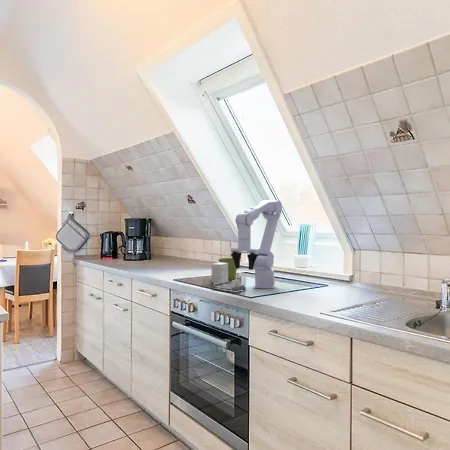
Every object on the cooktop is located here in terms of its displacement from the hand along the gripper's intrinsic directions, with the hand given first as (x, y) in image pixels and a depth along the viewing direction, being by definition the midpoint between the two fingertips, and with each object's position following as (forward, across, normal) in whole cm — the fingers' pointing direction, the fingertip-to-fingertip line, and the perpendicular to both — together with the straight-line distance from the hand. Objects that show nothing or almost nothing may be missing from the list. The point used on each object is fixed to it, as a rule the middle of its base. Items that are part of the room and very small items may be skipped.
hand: (244, 269), depth 191 cm
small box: (+11, -25, +12) cm, 30 cm away
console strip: (+11, -10, 0) cm, 14 cm away
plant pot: (+10, -30, +26) cm, 41 cm away
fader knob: (+9, -5, +1) cm, 11 cm away
